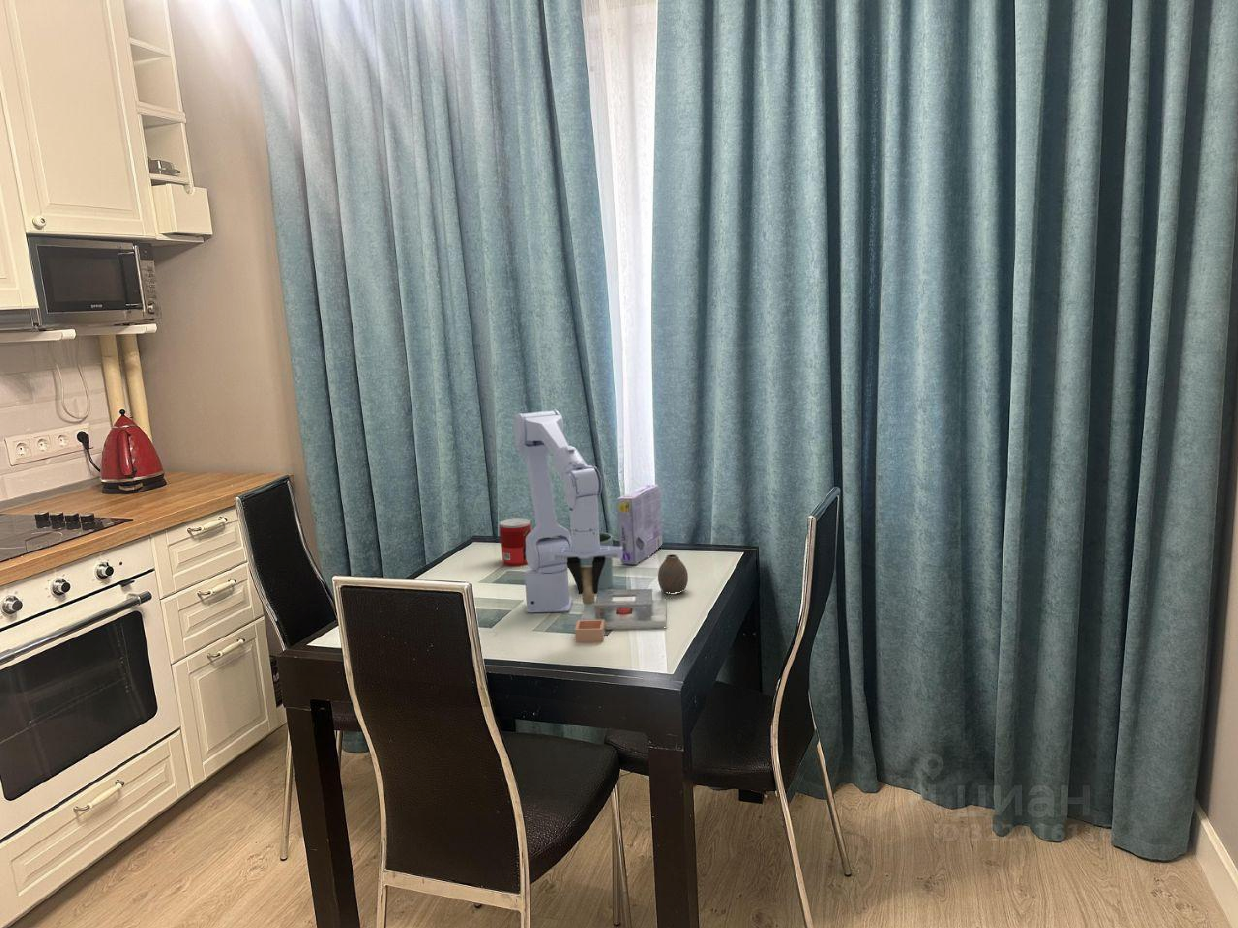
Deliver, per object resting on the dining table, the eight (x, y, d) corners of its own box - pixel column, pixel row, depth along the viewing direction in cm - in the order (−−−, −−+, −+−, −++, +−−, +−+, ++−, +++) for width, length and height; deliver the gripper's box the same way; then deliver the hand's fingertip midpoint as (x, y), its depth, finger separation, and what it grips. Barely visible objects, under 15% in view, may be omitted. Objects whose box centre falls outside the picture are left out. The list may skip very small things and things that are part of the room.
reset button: (617, 619, 195) (617, 608, 194) (618, 614, 198) (617, 603, 197) (630, 619, 195) (630, 608, 194) (631, 614, 198) (630, 603, 197)
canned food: (531, 565, 237) (528, 524, 235) (500, 566, 237) (497, 526, 235) (534, 557, 244) (531, 517, 242) (504, 558, 245) (501, 518, 243)
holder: (575, 641, 184) (574, 630, 184) (578, 631, 190) (577, 620, 189) (603, 641, 184) (602, 629, 183) (605, 630, 189) (604, 619, 189)
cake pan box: (648, 544, 251) (646, 482, 248) (665, 546, 249) (663, 483, 246) (618, 564, 234) (615, 497, 231) (636, 566, 232) (633, 499, 229)
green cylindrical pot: (610, 593, 213) (607, 543, 211) (568, 591, 215) (565, 542, 213) (618, 579, 223) (616, 531, 220) (578, 578, 225) (576, 531, 222)
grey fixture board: (580, 630, 190) (578, 610, 190) (585, 608, 203) (584, 589, 202) (666, 628, 189) (665, 608, 188) (666, 606, 202) (665, 587, 201)
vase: (663, 598, 208) (662, 561, 206) (654, 589, 214) (653, 553, 213) (692, 594, 209) (691, 557, 208) (682, 585, 216) (681, 549, 214)
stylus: (582, 604, 185) (580, 569, 183) (583, 600, 187) (581, 565, 185) (593, 604, 184) (591, 568, 183) (595, 600, 187) (593, 565, 185)
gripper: (546, 534, 179) (550, 600, 182) (619, 532, 178) (622, 598, 181) (550, 524, 186) (554, 588, 189) (621, 522, 185) (624, 586, 188)
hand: (588, 592), depth 185 cm, fingers closed on stylus, 2 cm apart
